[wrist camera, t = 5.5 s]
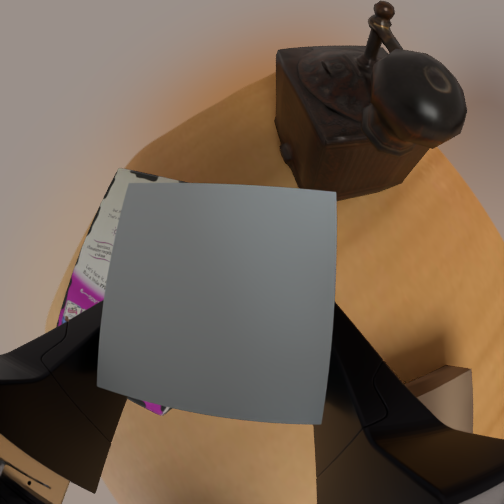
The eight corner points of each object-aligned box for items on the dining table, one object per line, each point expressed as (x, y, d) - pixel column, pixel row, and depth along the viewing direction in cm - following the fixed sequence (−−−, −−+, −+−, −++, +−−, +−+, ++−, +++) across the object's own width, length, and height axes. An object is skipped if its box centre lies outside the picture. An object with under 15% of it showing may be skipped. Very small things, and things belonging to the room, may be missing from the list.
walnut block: (350, 501, 17) (361, 522, 13) (337, 407, 19) (349, 423, 16) (449, 457, 17) (469, 470, 13) (446, 365, 19) (471, 368, 16)
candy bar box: (184, 402, 20) (249, 219, 24) (162, 419, 16) (243, 193, 19) (82, 346, 22) (140, 189, 26) (48, 348, 17) (117, 163, 21)
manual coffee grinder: (266, 120, 27) (258, -44, 9) (361, 107, 27) (402, -30, 9) (316, 265, 23) (421, 111, 5) (423, 234, 23) (559, 123, 5)
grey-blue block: (289, 363, 14) (320, 424, 5) (198, 353, 15) (96, 386, 5) (296, 274, 16) (336, 191, 6) (208, 266, 16) (128, 183, 6)
